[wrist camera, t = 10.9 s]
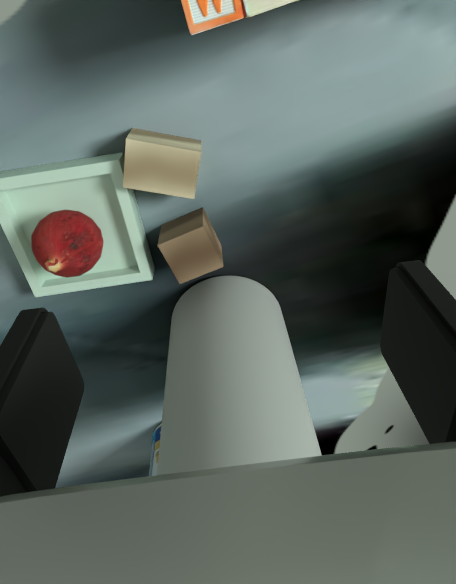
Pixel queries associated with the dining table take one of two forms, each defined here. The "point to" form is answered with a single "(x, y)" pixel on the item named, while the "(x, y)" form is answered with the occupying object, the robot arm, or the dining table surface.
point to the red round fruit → (67, 243)
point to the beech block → (161, 163)
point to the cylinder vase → (231, 382)
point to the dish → (88, 200)
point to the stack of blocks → (224, 11)
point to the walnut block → (190, 246)
